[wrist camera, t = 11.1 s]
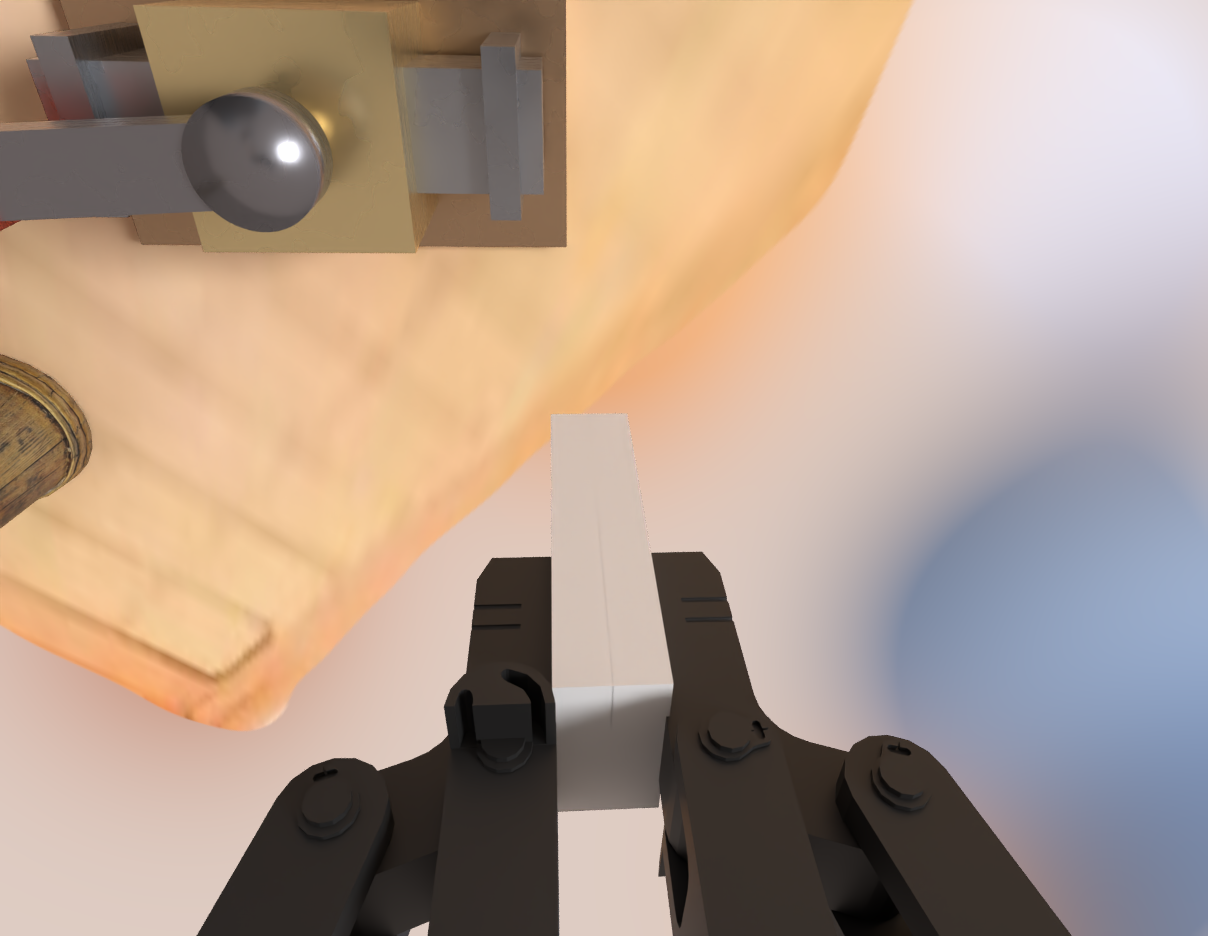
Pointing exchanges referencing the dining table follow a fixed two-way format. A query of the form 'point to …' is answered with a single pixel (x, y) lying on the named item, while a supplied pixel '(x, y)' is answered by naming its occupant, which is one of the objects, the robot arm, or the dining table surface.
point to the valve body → (347, 109)
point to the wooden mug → (36, 437)
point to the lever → (171, 164)
